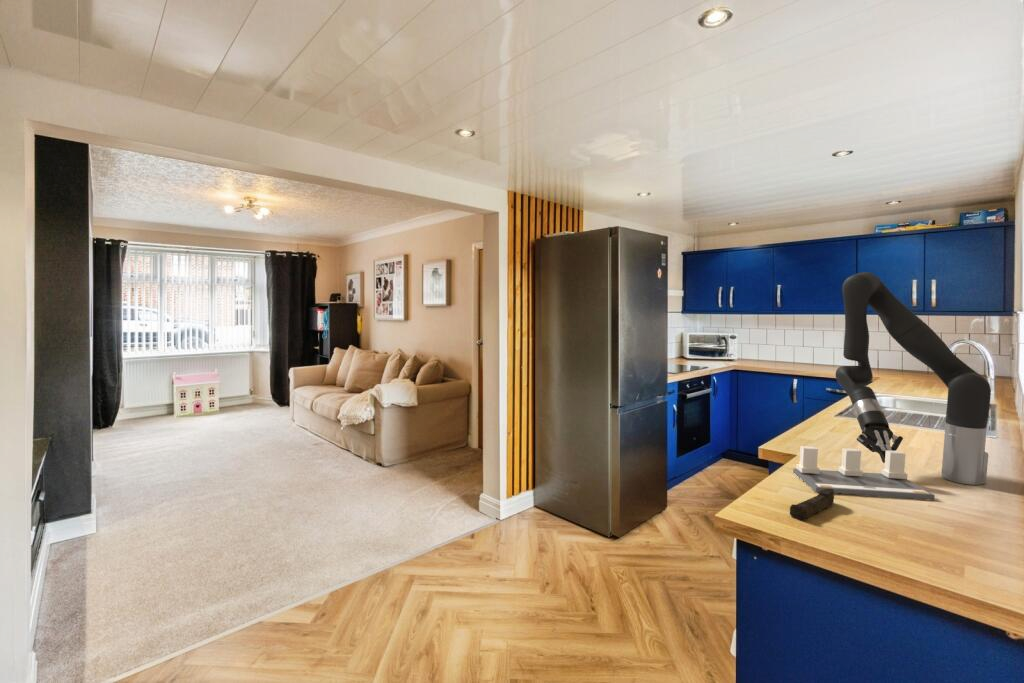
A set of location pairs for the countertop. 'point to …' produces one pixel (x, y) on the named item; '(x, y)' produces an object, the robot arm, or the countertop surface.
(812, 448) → the far tab
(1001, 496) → the countertop surface
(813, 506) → the hand tool
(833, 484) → the switch bank
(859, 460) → the middle tab
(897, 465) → the near tab
